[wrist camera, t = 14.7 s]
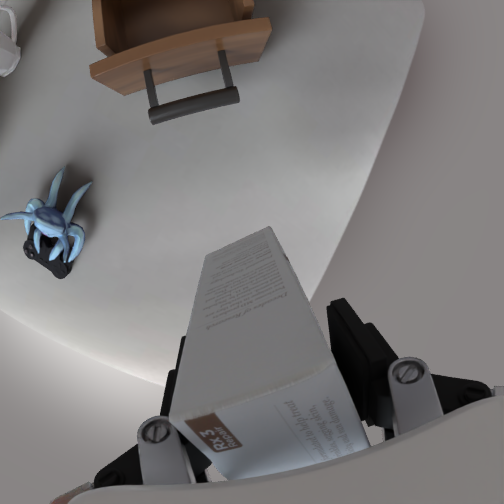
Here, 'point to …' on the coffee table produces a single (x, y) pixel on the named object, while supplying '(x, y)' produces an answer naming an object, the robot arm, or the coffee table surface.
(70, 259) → the figurine
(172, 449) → the robot arm
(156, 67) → the drawer
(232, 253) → the cosmetic box
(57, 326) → the coffee table surface
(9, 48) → the cup
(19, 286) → the coffee table surface
